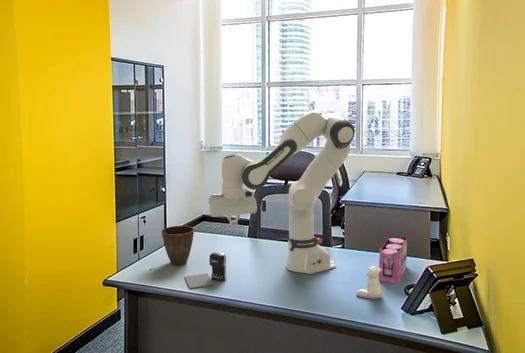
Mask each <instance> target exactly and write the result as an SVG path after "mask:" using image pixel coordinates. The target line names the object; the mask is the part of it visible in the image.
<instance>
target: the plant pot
mask: <svg viewBox="0 0 525 353" xmlns="http://www.w3.org/2000/svg"><path fill="white" fill-rule="evenodd" d="M194 232H195V228H194V227H192V226H187V225H175V226H169V227H164V228H162V230H161V236H162V241H163V245H164V249H165V251H166V252H165V253H166V254H167V257H168V259H169V261H170V263H171V265H172V266H183V265H186V264H187V263H188V260H189V258H190V253H191V250H192V245H193V241H194Z"/></svg>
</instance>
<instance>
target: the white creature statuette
mask: <svg viewBox="0 0 525 353" xmlns="http://www.w3.org/2000/svg"><path fill="white" fill-rule="evenodd" d="M381 270H382V269H381V268H379V267H377V266H375V265H373V266H371V267H369V269H368V270H367V271H368V272H367V274H366V276H367V277H368V279H367V280H366V285H365V288H364V289H361V288H360V289H357V290H356V291H355V292H356V293H355V295H356V296H357V297H359V298H360V297H361V298H365V299H372V300H377V299H380V298H381V297H382V296H383V289H382V287H381V283H380V282H381V281H379V280H378V278H379V272H381Z"/></svg>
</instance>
